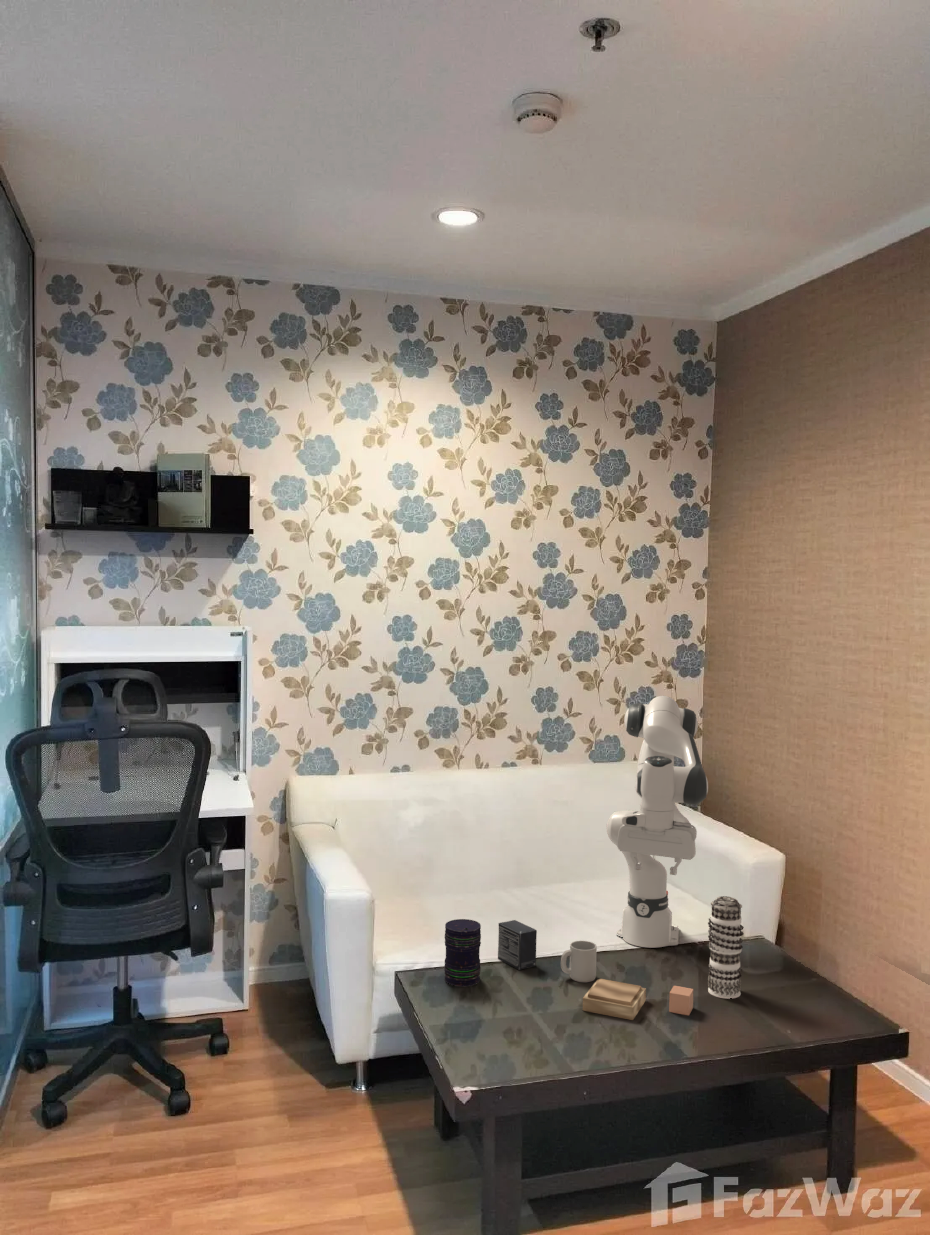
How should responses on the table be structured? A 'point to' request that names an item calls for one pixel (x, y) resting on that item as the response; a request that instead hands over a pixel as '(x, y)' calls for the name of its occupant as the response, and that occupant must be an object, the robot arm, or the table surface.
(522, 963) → the small box
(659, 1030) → the table surface
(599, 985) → the plinth
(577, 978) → the cup
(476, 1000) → the table surface
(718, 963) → the decorative candle
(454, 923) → the storage jar
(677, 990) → the cube
